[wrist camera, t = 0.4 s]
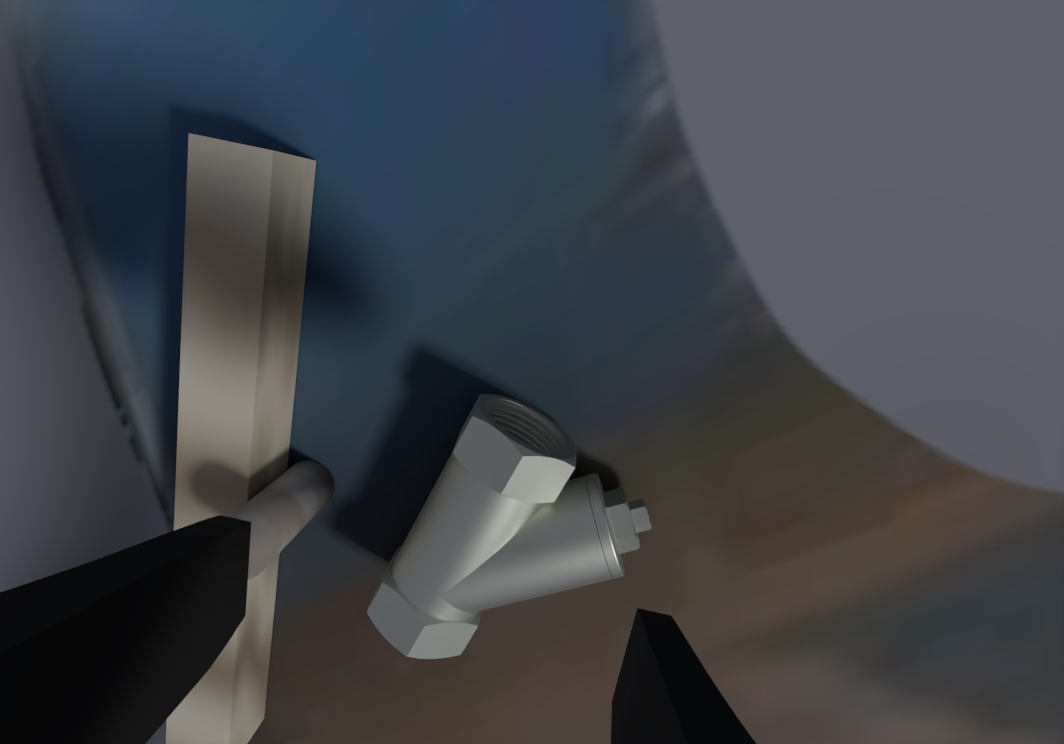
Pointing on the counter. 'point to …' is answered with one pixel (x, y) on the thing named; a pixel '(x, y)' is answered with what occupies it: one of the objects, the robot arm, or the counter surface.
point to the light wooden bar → (242, 400)
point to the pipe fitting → (501, 531)
